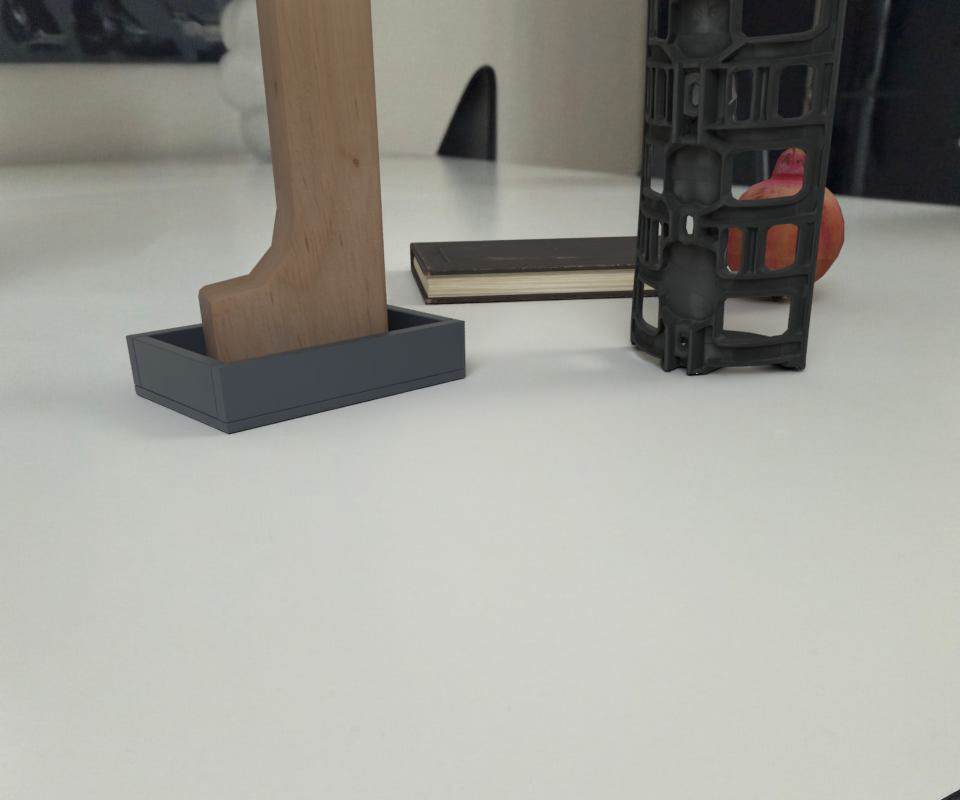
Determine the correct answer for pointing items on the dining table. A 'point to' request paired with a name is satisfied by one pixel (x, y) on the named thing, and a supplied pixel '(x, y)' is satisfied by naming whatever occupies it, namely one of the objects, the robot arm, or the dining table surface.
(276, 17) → the wooden block
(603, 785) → the dining table surface
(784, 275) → the holder
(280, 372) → the tray
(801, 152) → the fruit
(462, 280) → the hardcover book
